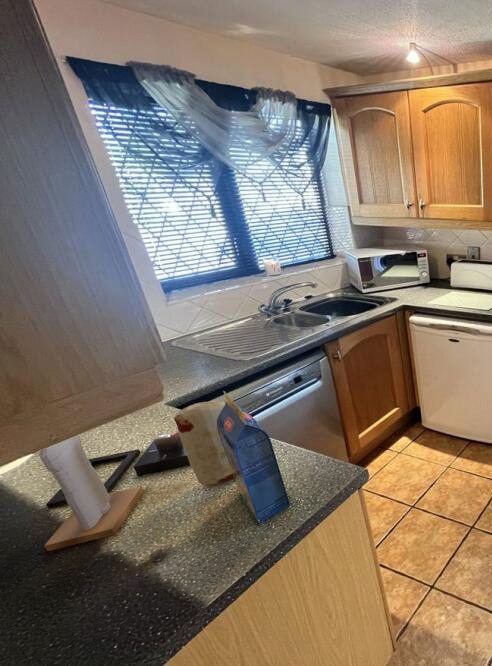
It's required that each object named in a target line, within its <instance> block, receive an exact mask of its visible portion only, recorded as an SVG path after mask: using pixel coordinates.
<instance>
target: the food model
mask: <svg viewBox="0 0 492 666" xmlns="http://www.w3.org/2000/svg"><path fill="white" fill-rule="evenodd" d="M225 404H226V402H224V401H218V400H217V401H211V402H209V401H202V402H197V403H193V404H191V405H188V406H186V407H184V408H182V409H181V410H180V411H178V412H177V414H175V416H174V417H173V420H174V422H175V425H176V428H177V432H179V436H180V440H181V443H182V446H183V448H184V450H185V452H186V454H187V457H188V460H189V463H190V468H191V469H192V471H193V473H194V475H195V477H196V481H197V483H199V484H200V485H208V486H209V485H216V484H223V483H225V482H229V481H232V480H235V478H234V475H233V472H232V469H231V467H230V464H229V461H228V458H227V455H226V453H225V450H224V447H223V444H222V442H221V439H220V436H219V433H218V430H217V418H218V416H219V414H220V412H221V411H222V409H223V407H224V406H225Z"/></svg>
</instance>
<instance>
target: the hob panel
mask: <svg viewBox="0 0 492 666" xmlns="http://www.w3.org/2000/svg"><path fill="white" fill-rule="evenodd" d="M189 466H190V467H191V465H190V463H189V460H188V457H187V454H186V452H185V450H184V448H183V446H181V447H179V448H174V449H170V450H165V451H160V452H158V449H157V447H156V445H155V443H154V440H152V441H151V443H150V444H149V445H148V447H147V448H146V450H145V451H144V452H143V453H142V455H141V456H140V457H139V459H138V460H137V461H136V462H135V464H134V465H133V470H134V472H135V474H136V476H137V477H138V478H140V477H144V476H148V475H154V474H158V473H162V472H165V471H172V470H175V469H180V468H186V467H189Z"/></svg>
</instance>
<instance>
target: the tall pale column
mask: <svg viewBox="0 0 492 666" xmlns="http://www.w3.org/2000/svg"><path fill="white" fill-rule="evenodd" d="M39 458H40V459H41V461H42V463H43V465H44V467H45V468H46V471H48V472H50V473H51V474H52V476H53V477H54V479H55V480H56V482H57V483H58V485H59V487H60V489H62V491H63V493H64V495H65V498H66V501H67V503H68V504H67V505H68V507H69V508H70V510H71V513H72V512H73V514H74V515H75V517H76V519H77V521H78V522H79V524H80V526H81V528H82V529H83V530H84V531H87V530H89V529H91V528H92V527H93V526H94V525H95V524H96V523H97V522H98V521H99V519H100V518H101V517H102V515H104V514H105V513H106V512H108V511H109V509H110V507H111V506H110V504H109V501H110V496H109V494H108V492H107V490H106V488H105V486H104V484H105V483H104V482H103V480H102V479H101V477H100V475H99V473H98V471H97V470H96V469H95V468H94V467H92V465H91V463H90V461H89V460H88V459H89V458H88V455H87V454H86V452H85V450H84V447H83V444H82V440H81V437H80V435H79V434H78V436H76V437H74V438H71V439H69V440H66V441H64V442H61V443H58V444H56V445H53V446H51V447H48V448H46V449H43V450H41V451H40V450H39Z"/></svg>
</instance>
